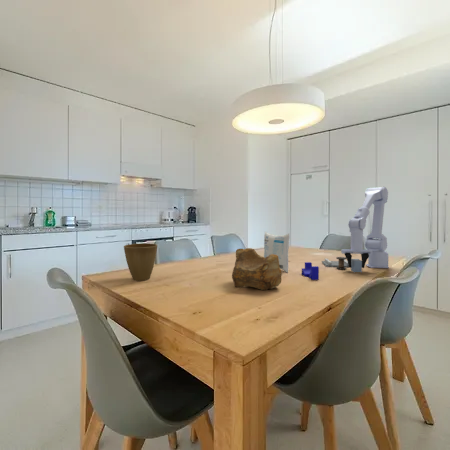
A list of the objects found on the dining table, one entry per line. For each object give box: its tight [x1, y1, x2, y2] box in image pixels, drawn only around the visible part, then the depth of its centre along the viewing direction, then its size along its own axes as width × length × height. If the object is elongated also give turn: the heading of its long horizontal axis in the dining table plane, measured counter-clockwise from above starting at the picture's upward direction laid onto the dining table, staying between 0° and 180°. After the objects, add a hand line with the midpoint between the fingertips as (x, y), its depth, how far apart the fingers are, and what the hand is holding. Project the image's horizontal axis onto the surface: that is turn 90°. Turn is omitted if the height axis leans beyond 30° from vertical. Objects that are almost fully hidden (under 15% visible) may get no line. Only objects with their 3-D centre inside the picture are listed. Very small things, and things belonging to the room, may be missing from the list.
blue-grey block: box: [350, 258, 363, 274], centre depth 145 cm, size 4×6×6 cm, turn 170°
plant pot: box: [123, 242, 158, 282], centre depth 130 cm, size 15×15×16 cm
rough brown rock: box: [231, 247, 282, 291], centre depth 116 cm, size 23×17×15 cm
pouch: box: [263, 231, 290, 274], centre depth 150 cm, size 8×19×20 cm, turn 28°
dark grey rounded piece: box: [335, 256, 347, 271], centre depth 152 cm, size 5×5×6 cm
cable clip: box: [301, 261, 320, 281], centre depth 133 cm, size 12×4×6 cm, turn 0°
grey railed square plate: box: [321, 258, 349, 268], centre depth 163 cm, size 14×14×2 cm
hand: (356, 267), depth 145 cm, fingers open, 6 cm apart
